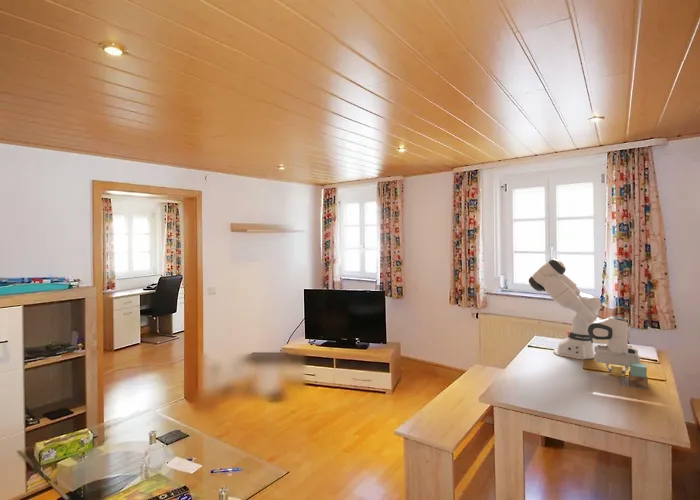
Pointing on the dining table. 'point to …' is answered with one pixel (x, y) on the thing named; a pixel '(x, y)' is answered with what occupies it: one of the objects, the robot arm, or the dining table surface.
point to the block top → (638, 369)
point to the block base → (638, 381)
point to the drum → (616, 370)
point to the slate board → (626, 383)
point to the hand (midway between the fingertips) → (616, 372)
